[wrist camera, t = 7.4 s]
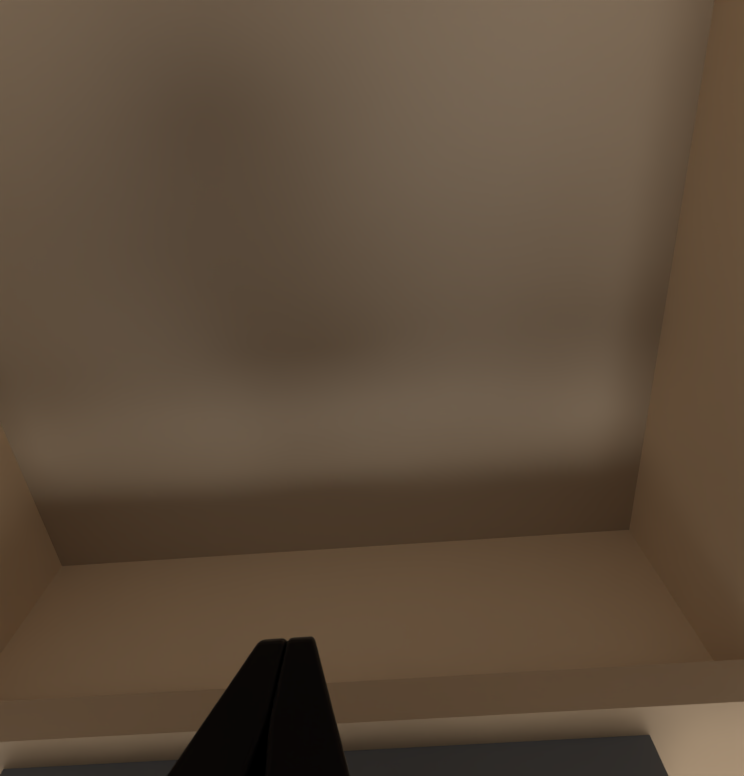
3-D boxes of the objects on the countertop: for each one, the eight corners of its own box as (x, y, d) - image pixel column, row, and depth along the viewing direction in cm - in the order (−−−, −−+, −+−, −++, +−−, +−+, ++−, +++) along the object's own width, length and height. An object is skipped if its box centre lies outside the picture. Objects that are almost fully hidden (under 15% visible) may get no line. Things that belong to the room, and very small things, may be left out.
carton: (758, -179, 10) (1260, -573, 4) (638, 530, 17) (768, 726, 11) (-222, -78, 10) (-897, -313, 5) (59, 567, 17) (-85, 772, 12)
